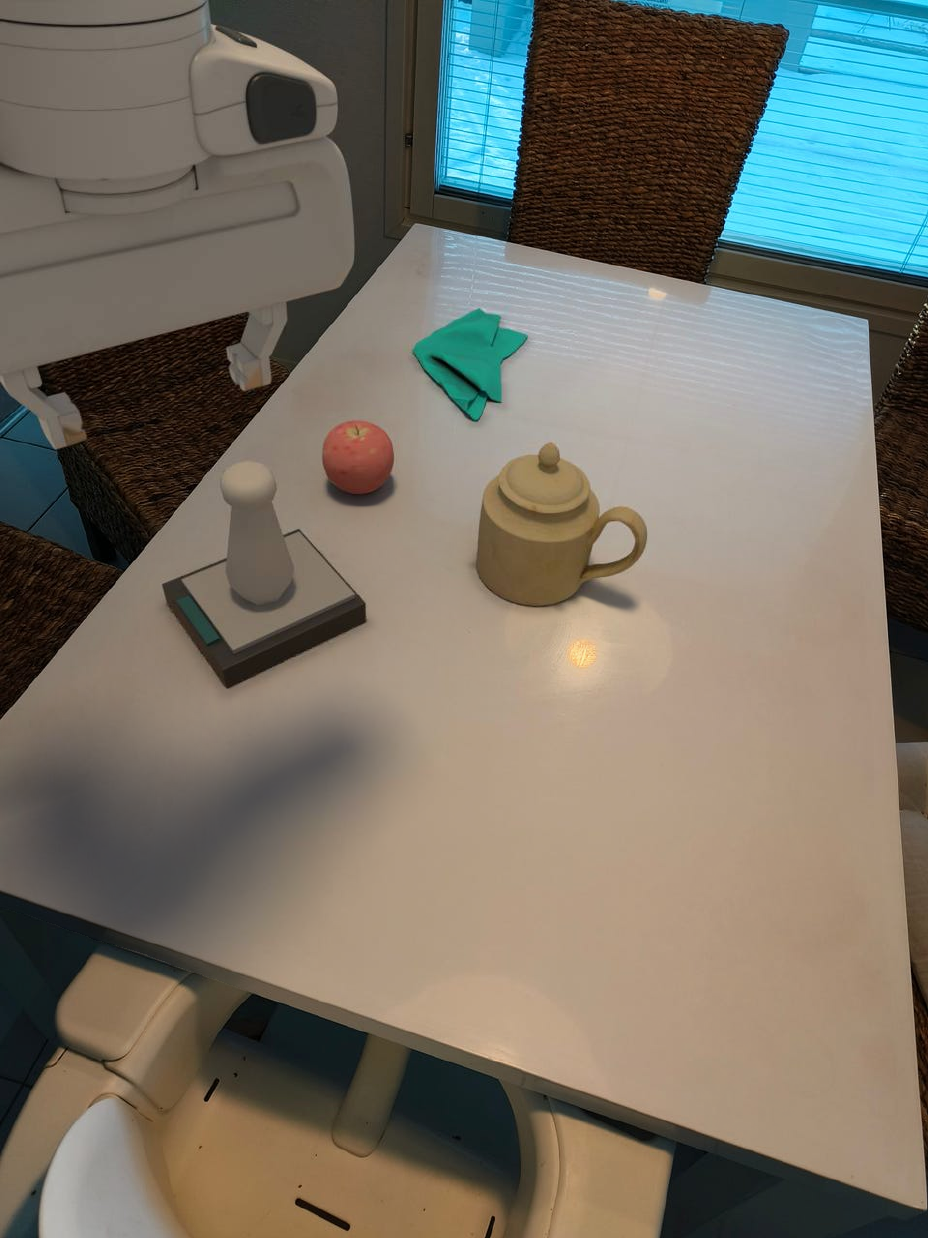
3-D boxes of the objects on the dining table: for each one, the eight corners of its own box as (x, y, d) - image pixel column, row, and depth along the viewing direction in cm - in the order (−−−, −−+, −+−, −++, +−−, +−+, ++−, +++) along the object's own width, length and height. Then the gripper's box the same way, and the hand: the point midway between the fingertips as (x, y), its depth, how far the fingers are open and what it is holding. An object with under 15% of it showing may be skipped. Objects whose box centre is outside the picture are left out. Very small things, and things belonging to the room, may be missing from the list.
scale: (226, 688, 72) (221, 665, 70) (166, 603, 78) (160, 579, 76) (366, 621, 78) (365, 598, 76) (300, 547, 84) (298, 523, 82)
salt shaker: (267, 622, 73) (250, 505, 64) (215, 595, 75) (191, 478, 65) (308, 582, 77) (298, 466, 67) (258, 557, 79) (241, 441, 69)
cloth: (443, 304, 120) (443, 289, 118) (537, 323, 118) (539, 308, 117) (381, 400, 103) (381, 384, 101) (491, 425, 101) (492, 408, 99)
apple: (383, 514, 89) (383, 451, 83) (315, 501, 89) (310, 438, 83) (400, 472, 94) (402, 409, 88) (336, 460, 94) (333, 397, 88)
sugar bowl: (617, 537, 89) (651, 415, 78) (628, 614, 81) (667, 491, 70) (475, 526, 88) (489, 402, 77) (473, 603, 81) (488, 477, 70)
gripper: (-213, 160, 25) (-45, 519, 35) (372, 82, 34) (372, 383, 45) (-251, 95, 28) (-87, 441, 38) (293, 40, 38) (310, 329, 48)
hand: (163, 409), depth 42 cm, fingers open, 8 cm apart
